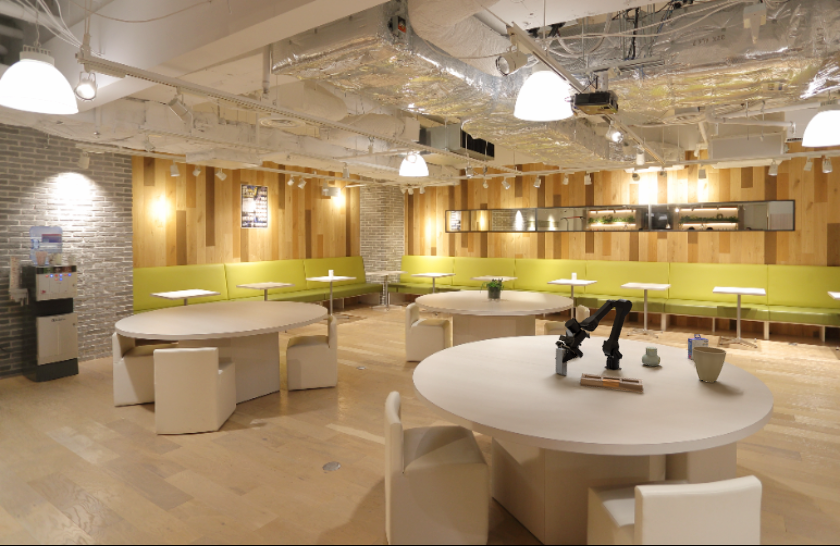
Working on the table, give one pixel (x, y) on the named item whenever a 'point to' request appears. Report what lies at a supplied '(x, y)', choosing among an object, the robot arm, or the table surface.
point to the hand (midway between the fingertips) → (559, 361)
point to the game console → (569, 335)
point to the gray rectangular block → (560, 366)
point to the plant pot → (708, 362)
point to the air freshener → (651, 357)
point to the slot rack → (612, 382)
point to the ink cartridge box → (696, 344)
